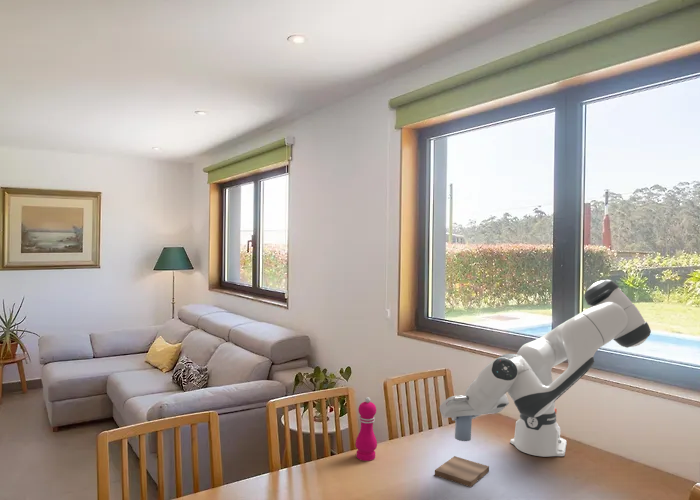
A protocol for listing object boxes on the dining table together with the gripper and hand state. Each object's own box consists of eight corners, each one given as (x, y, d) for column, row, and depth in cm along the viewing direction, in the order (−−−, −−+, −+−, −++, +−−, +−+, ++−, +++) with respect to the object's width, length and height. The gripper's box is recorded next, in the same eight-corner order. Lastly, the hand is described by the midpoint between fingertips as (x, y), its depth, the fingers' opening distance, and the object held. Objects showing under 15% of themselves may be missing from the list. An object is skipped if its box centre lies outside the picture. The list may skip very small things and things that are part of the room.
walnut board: (454, 460, 171) (454, 456, 171) (489, 471, 164) (489, 466, 164) (434, 475, 160) (434, 470, 160) (470, 487, 153) (471, 481, 153)
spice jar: (458, 433, 166) (460, 399, 166) (474, 437, 163) (475, 402, 163) (451, 438, 162) (452, 402, 162) (467, 442, 158) (468, 406, 158)
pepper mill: (374, 462, 168) (376, 401, 168) (353, 460, 169) (355, 399, 169) (378, 454, 175) (380, 395, 175) (357, 451, 176) (359, 393, 176)
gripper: (453, 408, 148) (436, 430, 157) (514, 403, 154) (493, 424, 164) (446, 388, 152) (429, 410, 161) (505, 384, 159) (486, 405, 168)
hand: (462, 417), depth 163 cm, fingers closed on spice jar, 5 cm apart
